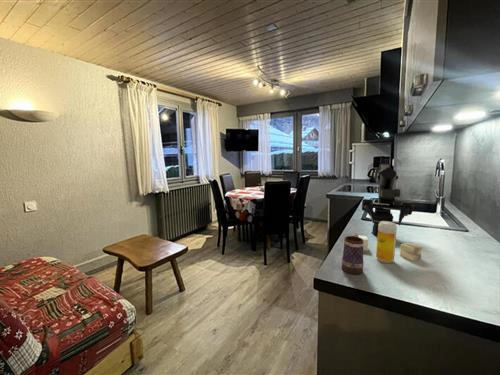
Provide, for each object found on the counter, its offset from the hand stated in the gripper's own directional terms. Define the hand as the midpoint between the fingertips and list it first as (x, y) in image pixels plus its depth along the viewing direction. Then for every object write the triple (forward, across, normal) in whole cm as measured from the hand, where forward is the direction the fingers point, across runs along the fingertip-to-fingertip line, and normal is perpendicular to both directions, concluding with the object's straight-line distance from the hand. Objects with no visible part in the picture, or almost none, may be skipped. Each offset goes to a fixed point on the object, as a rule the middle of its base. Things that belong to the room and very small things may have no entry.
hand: (386, 223), depth 94 cm
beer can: (+14, 0, +5) cm, 15 cm away
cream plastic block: (+7, -9, +11) cm, 16 cm away
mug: (+23, -11, -5) cm, 26 cm away
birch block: (+8, +9, +10) cm, 16 cm away
